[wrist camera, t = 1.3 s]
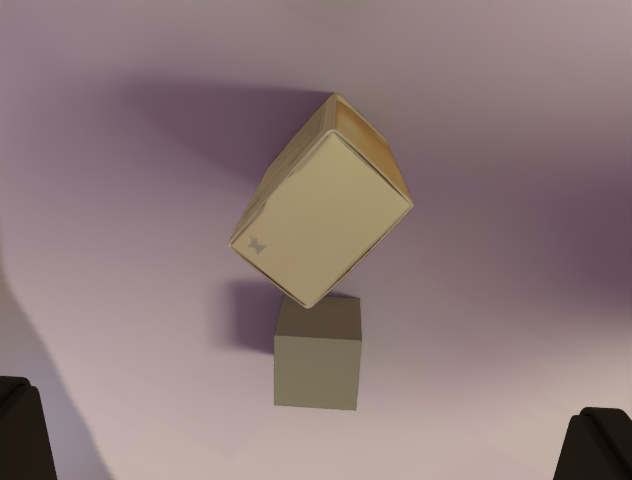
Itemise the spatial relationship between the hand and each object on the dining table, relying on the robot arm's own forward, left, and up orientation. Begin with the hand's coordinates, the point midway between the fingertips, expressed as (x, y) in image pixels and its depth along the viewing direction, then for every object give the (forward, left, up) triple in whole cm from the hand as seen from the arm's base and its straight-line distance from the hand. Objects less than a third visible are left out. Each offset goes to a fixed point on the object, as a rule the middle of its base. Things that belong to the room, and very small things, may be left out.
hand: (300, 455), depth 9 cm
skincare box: (0, 0, -23) cm, 23 cm away
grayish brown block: (0, +12, -23) cm, 26 cm away
